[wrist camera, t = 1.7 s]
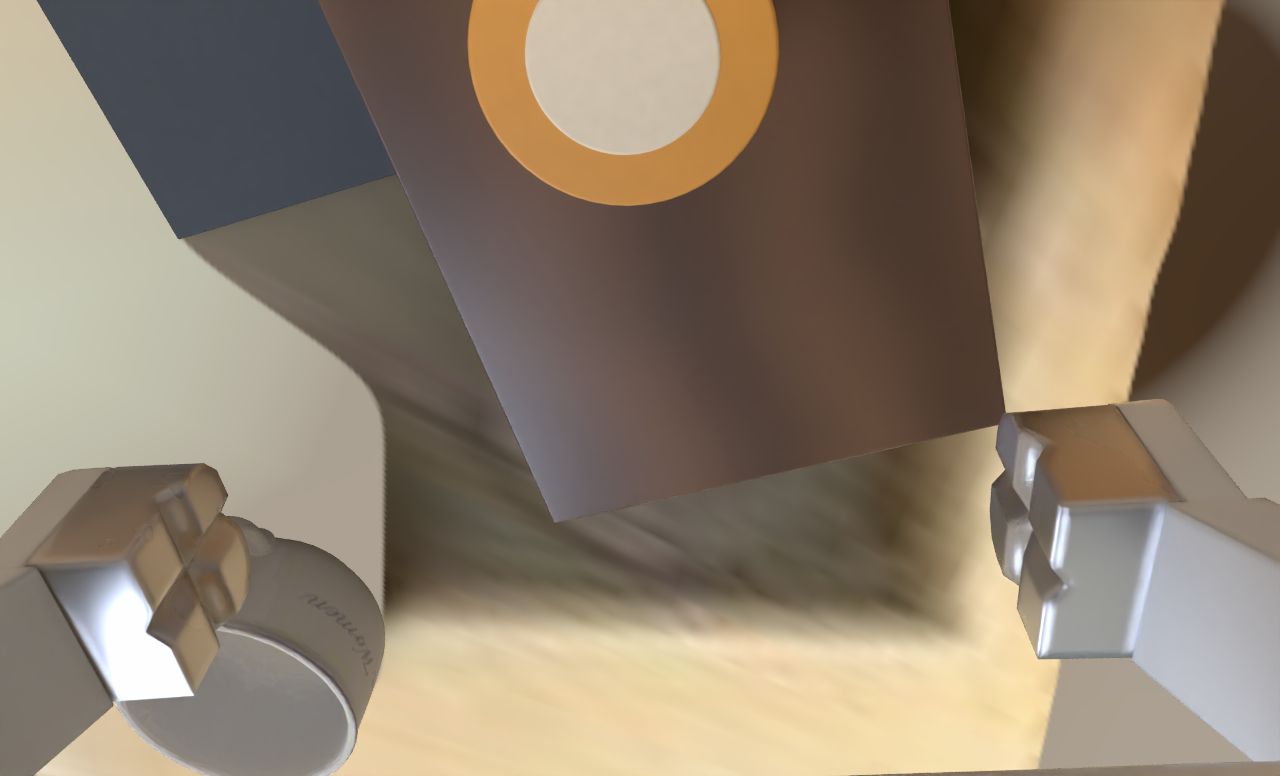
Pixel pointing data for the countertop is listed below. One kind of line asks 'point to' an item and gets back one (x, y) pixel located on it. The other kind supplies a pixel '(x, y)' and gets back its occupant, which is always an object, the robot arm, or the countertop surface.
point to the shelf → (710, 261)
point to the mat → (224, 102)
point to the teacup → (277, 672)
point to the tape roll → (624, 89)
